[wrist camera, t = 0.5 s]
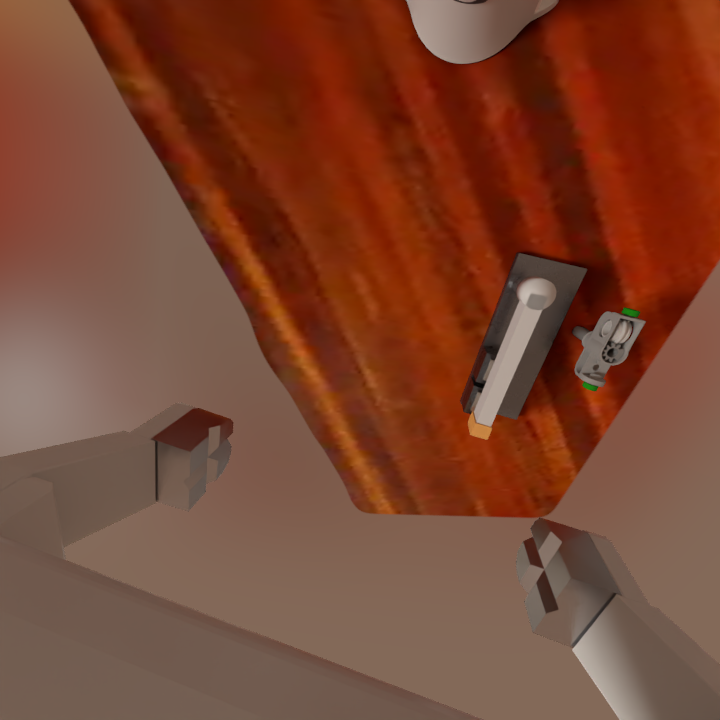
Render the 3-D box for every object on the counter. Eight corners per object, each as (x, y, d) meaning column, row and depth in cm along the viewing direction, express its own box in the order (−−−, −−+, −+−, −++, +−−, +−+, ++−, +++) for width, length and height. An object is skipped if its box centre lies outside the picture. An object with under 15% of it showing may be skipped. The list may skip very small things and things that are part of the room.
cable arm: (523, 273, 41) (530, 276, 38) (552, 280, 41) (562, 283, 38) (463, 421, 50) (466, 433, 47) (487, 428, 50) (491, 441, 46)
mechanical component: (552, 360, 50) (580, 388, 41) (584, 293, 46) (623, 308, 37) (572, 365, 50) (605, 394, 40) (606, 299, 46) (651, 315, 37)
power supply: (483, 345, 50) (487, 354, 46) (509, 352, 50) (515, 361, 46) (472, 372, 52) (476, 382, 48) (498, 379, 51) (503, 390, 48)
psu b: (471, 376, 52) (474, 386, 49) (496, 383, 52) (501, 394, 48) (461, 401, 54) (463, 413, 50) (486, 408, 53) (490, 420, 50)
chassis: (516, 252, 46) (528, 254, 41) (583, 268, 45) (603, 272, 40) (460, 400, 55) (463, 417, 50) (514, 415, 54) (523, 434, 49)
